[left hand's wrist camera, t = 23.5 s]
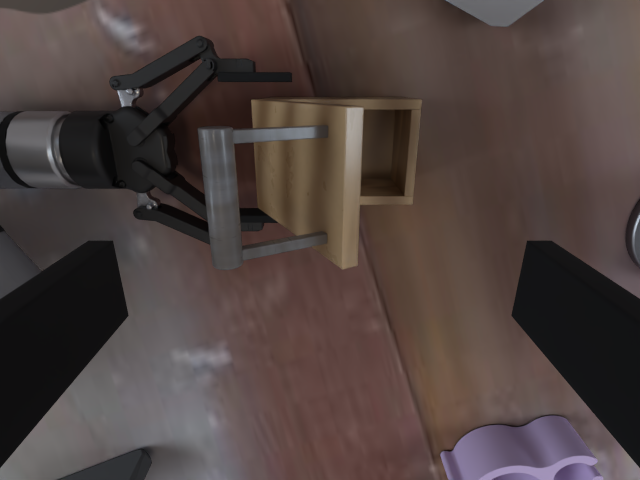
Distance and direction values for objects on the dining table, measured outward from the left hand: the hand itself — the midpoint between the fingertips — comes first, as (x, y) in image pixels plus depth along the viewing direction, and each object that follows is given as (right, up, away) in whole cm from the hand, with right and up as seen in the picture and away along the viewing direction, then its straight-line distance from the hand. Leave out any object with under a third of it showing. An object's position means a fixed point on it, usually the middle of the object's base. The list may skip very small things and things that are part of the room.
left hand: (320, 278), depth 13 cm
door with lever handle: (-1, +7, +17) cm, 18 cm away
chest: (+2, +12, +32) cm, 34 cm away
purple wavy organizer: (+30, -32, +49) cm, 66 cm away
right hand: (-3, +10, +26) cm, 28 cm away
